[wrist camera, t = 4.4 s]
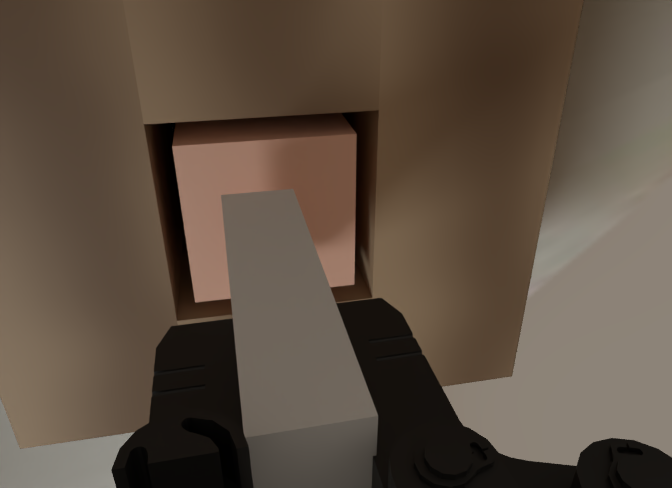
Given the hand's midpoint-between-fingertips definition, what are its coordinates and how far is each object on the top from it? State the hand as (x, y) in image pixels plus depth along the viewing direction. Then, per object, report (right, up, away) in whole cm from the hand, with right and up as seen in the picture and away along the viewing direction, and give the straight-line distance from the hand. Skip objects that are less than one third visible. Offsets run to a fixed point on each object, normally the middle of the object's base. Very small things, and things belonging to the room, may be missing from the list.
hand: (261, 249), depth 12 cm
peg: (-1, +3, +6) cm, 7 cm away
